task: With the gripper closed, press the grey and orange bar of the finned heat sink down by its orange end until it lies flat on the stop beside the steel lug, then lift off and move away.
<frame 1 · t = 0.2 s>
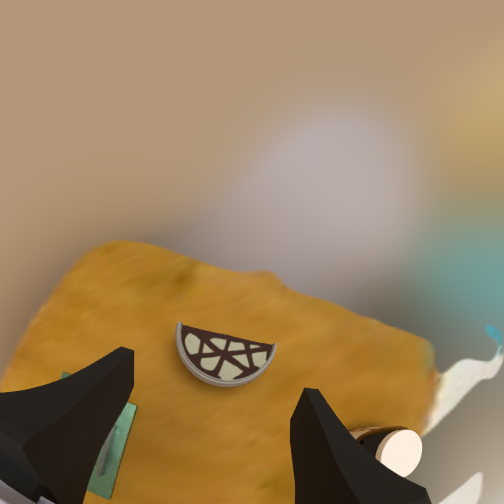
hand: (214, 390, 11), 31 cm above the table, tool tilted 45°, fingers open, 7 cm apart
spread jar: (352, 460, 36), on the table
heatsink: (94, 404, 34), on the table
food container: (216, 369, 41), on the table
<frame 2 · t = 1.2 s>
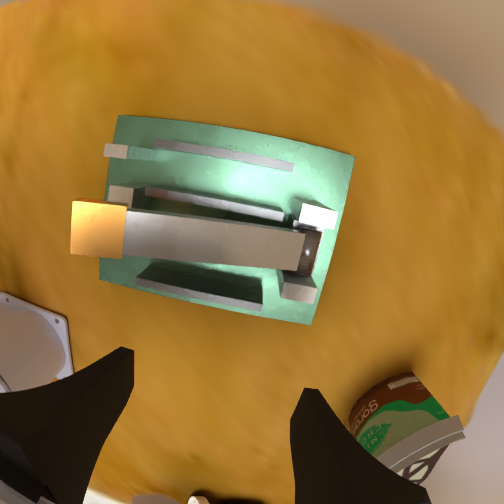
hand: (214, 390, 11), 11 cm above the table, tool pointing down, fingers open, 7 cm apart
grey and orange bar: (202, 239, 14), point 6 cm above the table, hinge at 20.0°
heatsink: (296, 234, 20), on the table
food container: (368, 408, 25), on the table
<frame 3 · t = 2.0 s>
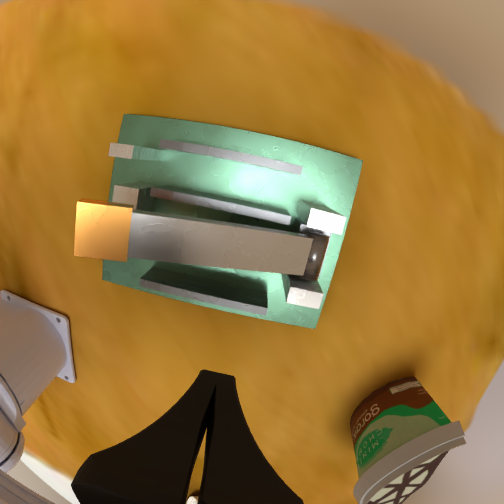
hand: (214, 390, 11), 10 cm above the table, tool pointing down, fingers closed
grey and orange bar: (209, 242, 14), point 6 cm above the table, hinge at 20.0°
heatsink: (302, 237, 20), on the table
food container: (369, 412, 25), on the table
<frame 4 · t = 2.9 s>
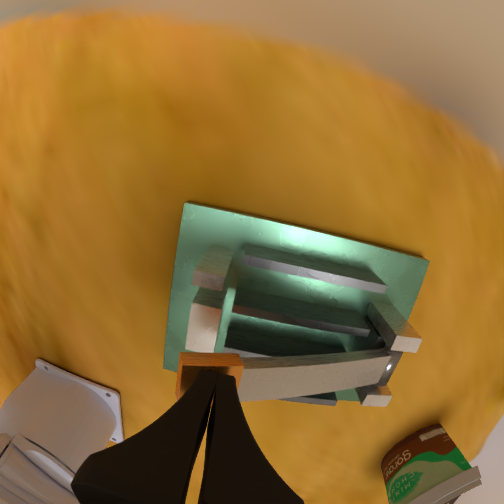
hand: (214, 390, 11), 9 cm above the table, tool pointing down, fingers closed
grey and orange bar: (307, 375, 14), point 6 cm above the table, hinge at 20.0°, touching gripper
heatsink: (365, 328, 20), on the table
food container: (398, 452, 24), on the table
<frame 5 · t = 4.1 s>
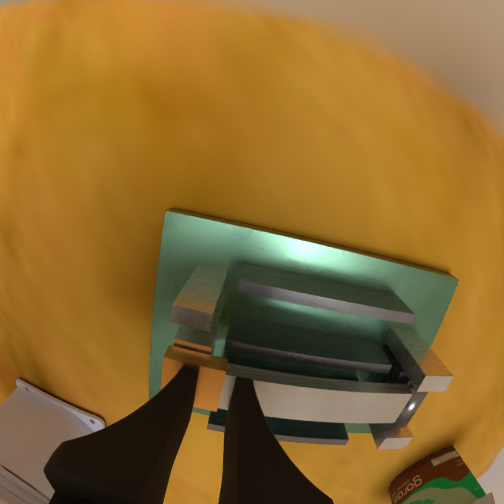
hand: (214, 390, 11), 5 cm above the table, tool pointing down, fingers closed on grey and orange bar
grey and orange bar: (305, 399, 12), point 5 cm above the table, hinge at 0.9°, touching gripper
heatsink: (382, 356, 16), on the table
food container: (408, 476, 21), on the table
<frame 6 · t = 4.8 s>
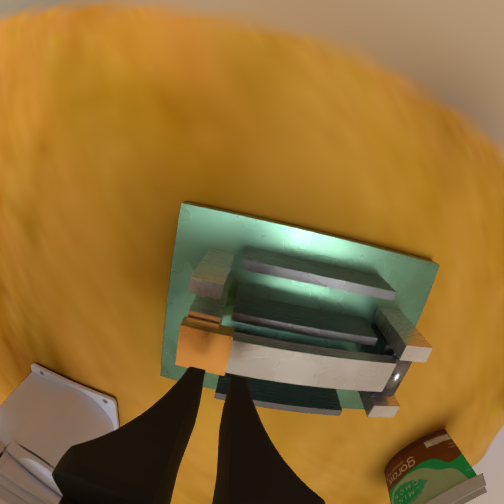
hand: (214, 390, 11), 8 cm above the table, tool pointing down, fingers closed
grey and orange bar: (301, 365, 14), point 5 cm above the table, hinge at 0.9°
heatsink: (371, 335, 19), on the table
food container: (402, 459, 23), on the table
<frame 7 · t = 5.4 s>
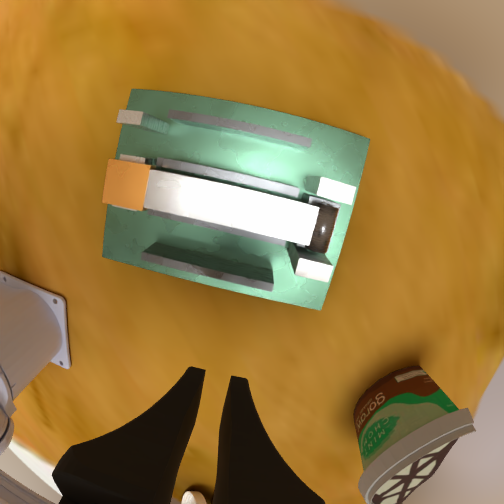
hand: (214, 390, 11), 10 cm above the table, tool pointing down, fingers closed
spread jar: (224, 502, 30), on the table
grey and orange bar: (216, 202, 15), point 5 cm above the table, hinge at 0.9°
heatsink: (308, 215, 20), on the table
food container: (373, 402, 24), on the table
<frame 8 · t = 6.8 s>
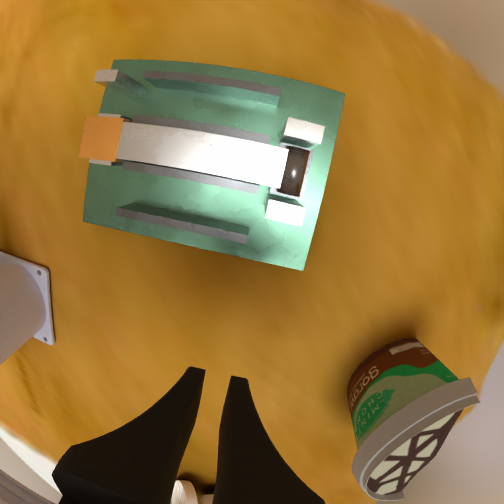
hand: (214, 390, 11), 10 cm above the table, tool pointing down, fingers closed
spread jar: (216, 494, 30), on the table
grey and orange bar: (185, 149, 15), point 5 cm above the table, hinge at 0.9°
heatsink: (286, 171, 19), on the table
food container: (368, 380, 24), on the table
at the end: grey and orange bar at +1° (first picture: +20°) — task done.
